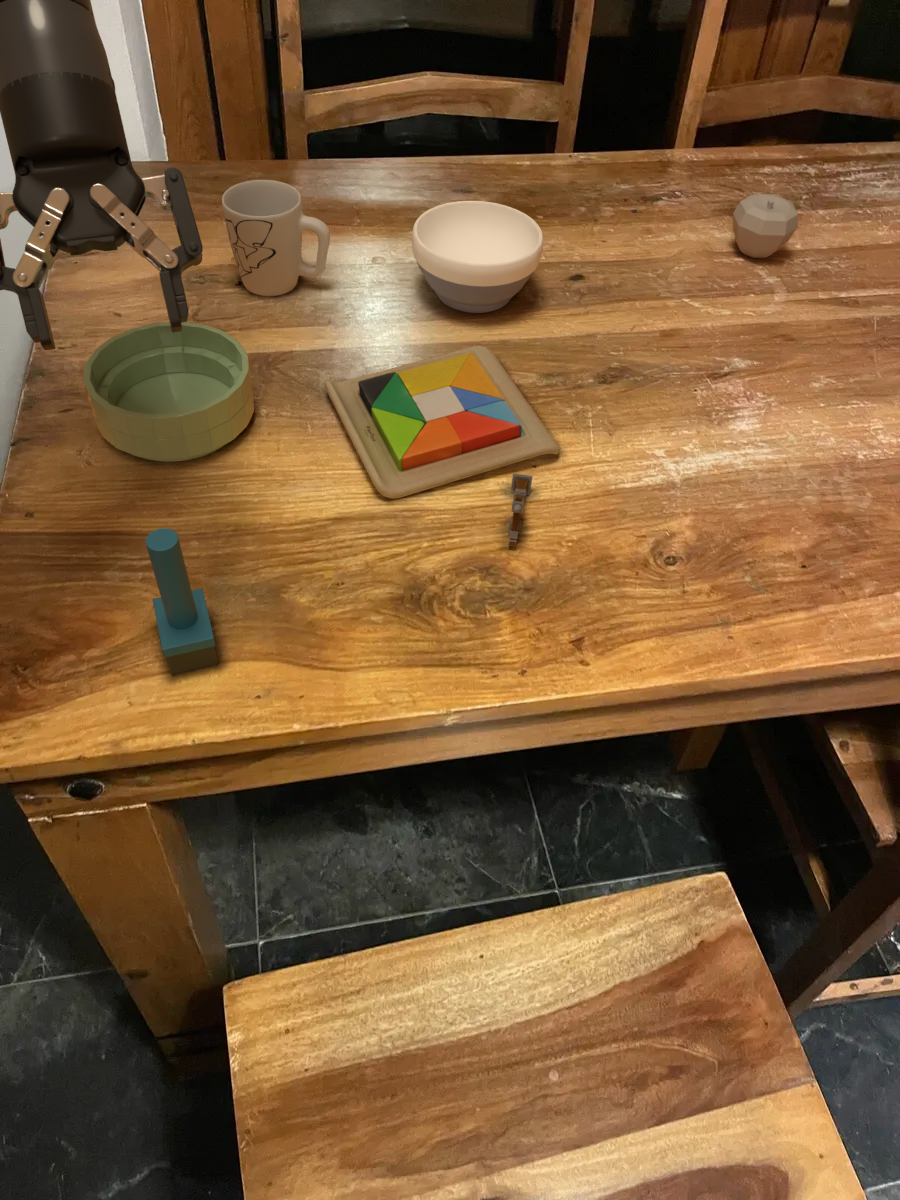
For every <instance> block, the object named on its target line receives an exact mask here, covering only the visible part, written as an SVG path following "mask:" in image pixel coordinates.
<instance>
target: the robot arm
mask: <svg viewBox="0 0 900 1200" xmlns="http://www.w3.org/2000/svg"><path fill="white" fill-rule="evenodd" d="M0 118H1V121H2V126H3V130H4V134H5V138H6V143H7V147H8V151H9V155H10V159H11V163H12V167H13V171H14V176H15V178H14V179H15V181H14V186H13V189H12V191H6V192H4V191H3V192H0V230H4V229H6V228H7V227H8V226H9V220H10V219H9V218H10V216H11V214H12V213H14V212H18V214H19V215H20V216H21V217H22V218H23V219H24V220H26V222H27V223H29V224H30V225H31V226H32V227H33V228H32V230H31V233H30V235H29V236H28V239H27V240H26V243H25V246H24V251H23V254H22V255H21V257H20V259H19V261H18V264H17V265H16V267H15V268H13V267H8V266H6V261H5V257H4V252H3V246H2V239H1V238H0V291H7V292H12V293H14V294H16V295H17V298H18V302H19V305H20V310H21V315H22V319H23V323H24V326H25V330H26V332H27V334H28V336H29V337H30V338H31V340H32V341H33V342H34V343H35V344H36V343H37V344H38V343H40V346H41V348H42V349H43V350H44V351H51V350H56V344H55V339H54V335H53V331H52V327H51V323H50V319H49V314H48V311H47V306H46V302H45V298H44V295H43V293H42V291H41V290H40V288H41V287H42V284H43V281H44V280H45V278H46V276H47V274H48V272H49V271H50V270H51V269H52V268H53V266H54V264H55V262H56V261H57V258H58V256H59V255H60V252H63V253H66V254H69V255H70V256H71V257H72V256H80V255H84V254H86V253H89V252H92V251H101V252H111V251H118V250H119V249H118V248H120V247H121V246H123V245H124V244H125V243H126V244H127V245H128V246H129V247H130V248H131V249H132V250H133V251H134V252H136V253H137V254H138V255H139V256H140V257H141V258H143V259H145V260H146V261H148V263H150V264H151V265H152V266H153V267H154V268H155V269H156V270H157V271H158V273H159V274H158V275H159V282H160V286H161V290H162V294H163V299H164V304H165V308H166V313H167V317H168V320H169V321H168V322H170V326H171V330H172V333H173V332H179V331H182V325H181V323H182V322H188V320H189V306H188V301H187V297H186V292H185V288H184V284H183V280H182V279H183V278H182V274H183V273H184V271H186V270H187V269H189V268H191V267H198V266H199V265H200V264H202V262H203V249H204V247H203V242H202V239H201V235H200V232H199V229H198V225H197V222H196V219H195V215H194V211H193V207H192V204H191V200H190V197H189V193H188V190H187V187H186V183H185V179H184V177H183V176H184V175H183V173H182V172H181V171H180V170H179V168H177V167H169V168H167V169H166V170H165V171H164V174H161V175H155V176H149V177H142V178H141V177H140V175H139V174H138V173H137V171H136V170H135V168H134V166H133V163H132V159H131V154H130V150H129V146H128V141H127V137H126V133H125V129H124V124H123V120H122V119H123V118H122V115H121V110H120V106H119V102H118V97H117V93H116V84H115V81H114V79H113V76H112V71H111V67H110V63H109V58H108V55H107V51H106V48H105V46H104V43H103V40H102V37H101V35H100V32H99V29H98V26H97V23H96V19H95V14H94V10H93V6H92V0H0ZM148 197H149V198H152V199H154V200H155V201H156V202H157V205H158V206H159V208H160V209H161V210H163V211H171V215H172V219H173V222H174V225H175V229H176V232H177V236H178V239H179V243H180V245H179V246H176V247H174V248H173V249H171V248H170V247H169V245H167V244H166V243H165V242H164V241H163V240H161V238H159V237H158V236H157V235H156V234H155V232H154V231H153V229H152V228H151V227H150V226H149V225H147V224H146V223H145V222H144V221H143V220H142V219H141V218H140V217H139V215H140V213H141V212H142V211H141V210H142V209H143V207H144V205H145V202H146V199H147V198H148Z"/></svg>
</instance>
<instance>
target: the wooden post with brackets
mask: <svg viewBox="0 0 900 1200" xmlns="http://www.w3.org/2000/svg"><path fill="white" fill-rule="evenodd" d="M511 478H512V479H511V485H510V486H511V487H510V493H511V494H513V498H512V502H511V511H510V512H511V513H513V514H512V517H510V520H509V524H508V529H507V530H508V531H507V532H508V533H509V534H508V546H510V547H516V546H517V541H518V537H519V535H520V534H521V529H522V518H520V517H521V514H523V511H524V506H525V501H526V496H530V495H531V488H532V483H533V475H530V474H521V473H512V477H511Z"/></svg>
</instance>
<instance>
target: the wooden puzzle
mask: <svg viewBox="0 0 900 1200" xmlns="http://www.w3.org/2000/svg"><path fill="white" fill-rule="evenodd" d="M324 389H325V391H326V393H327V394H328V396H329V399H330V400H331V403H332V404H333V407H334V409H335V410H336V413H337V415H338V416H339V418H340V419H339V420H340V421H341V423H342V424H343V427H344V429H345V430H346V431H345V432H346V433H347V434H348V435H347V436H348V437H349V439H350V441H351V443H352V445H353V446H354V448H355V451H356V452H357V455H358V457H359V458H360V461H361V462H362V464H363V467H364V468H365V470H366V473H367V475H368V477H369V478H370V480H371V482H372V484H373V486H374V488H375V489H376V490H377V492H378V494H380V495H381V496H383V497H385V498H387V499H393V500H394V499H400V498H403V497H408V496H411V495H414V494H417V493H421V492H423V491H427V490H431V489H433V488H437V487H440V486H443V485H446V484H451V483H453V482H456V481H459V480H463V479H466V478H470V477H472V476H477V475H479V474H484V473H486V472H489V471H492V470H496V469H499V468H502V467H505V466H510V465H513V464H516V463H519V462H523V461H526V460H530V459H532V458H536V457H539V456H543V455H548V454H550V455H558V454H559V453H560V451H561V448H560V446H559V444H558V443H557V442H556V440H555V439H554V437H553V436H552V435H551V433H550V432H549V430H548V429H547V427H545V425H544V423H543V422H542V420H541V419H540V417H538V415H537V413H536V412H535V411H534V410H533V408H532V407H531V405H530V403H529V402H528V401H527V400H526V398H525V396H524V395H523V394H522V392H521V391H520V390H519V388H518V387H517V385H516V383H514V380H512V378H511V377H510V375H509V374H508V372H507V371H506V369H505V368H504V367H503V365H502V364H501V363H500V361H499V359H498V358H497V356H496V354H495V353H494V351H492V350H491V349H490V348H489V347H487V346H484V345H473V346H468V347H466V348H465V347H464V348H462V349H457V350H454V351H450V352H446V353H443V354H439V355H436V356H431V357H429V358H424V359H420V360H417V361H414V362H410V363H406V364H402V365H398V366H395V367H391V368H387V369H384V370H380V371H377V372H373V373H369V374H365V375H360V376H357V377H353V378H350V379H345V380H342V381H341V380H340V381H334V380H331V379H327V380H325V381H324Z"/></svg>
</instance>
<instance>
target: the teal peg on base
mask: <svg viewBox="0 0 900 1200" xmlns="http://www.w3.org/2000/svg"><path fill="white" fill-rule="evenodd" d="M145 546H146V550H147V553H148V556H149V560H150V564H151V567H152V570H153V575H154V577H155V581H156V584H157V587H158V591H159V595H160V597H154V598H152V604H153V610H154V614H155V620H156V625H157V630H158V631H157V632H158V636H159V641H160V646H161V647H160V648H161V651H162V655H163V658H165V659H166V663H167V666H168V669H169V673H170V676H171V677H174V676H178V675H183V674H187V673H191V672H195V671H200V670H204V669H208V668H211V667H216V666H219V665H220V664H219V660H218V659H219V658H218V655H217V650H216V646H217V645H216V640H215V635H214V632H213V627H212V623H211V619H210V614H209V610H208V606H207V601H206V597H205V592H204V589H203V588H196V589H193V590H192V587H191V583H190V579H189V575H188V570H187V567H186V563H185V558H184V555H183V550H182V547H181V546H182V545H181V542H180V538H179V535H178V533H177V532H176V531H175V530H173V529H171V528H167V527H162V528H157V529H155V530H152V531H151V532H150V533H148V535H146V537H145Z"/></svg>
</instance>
